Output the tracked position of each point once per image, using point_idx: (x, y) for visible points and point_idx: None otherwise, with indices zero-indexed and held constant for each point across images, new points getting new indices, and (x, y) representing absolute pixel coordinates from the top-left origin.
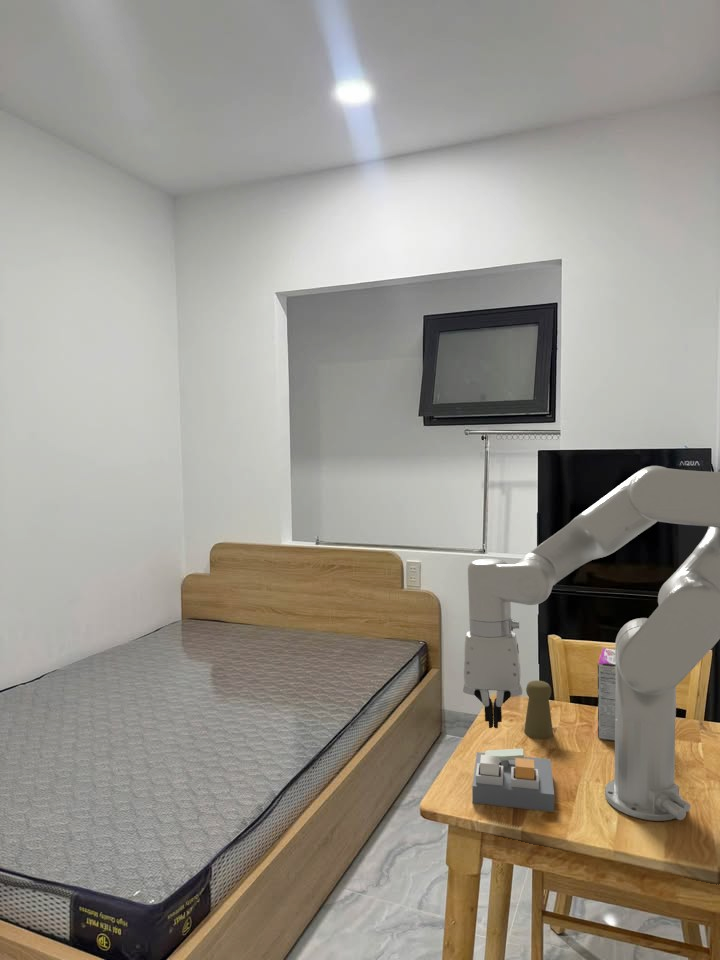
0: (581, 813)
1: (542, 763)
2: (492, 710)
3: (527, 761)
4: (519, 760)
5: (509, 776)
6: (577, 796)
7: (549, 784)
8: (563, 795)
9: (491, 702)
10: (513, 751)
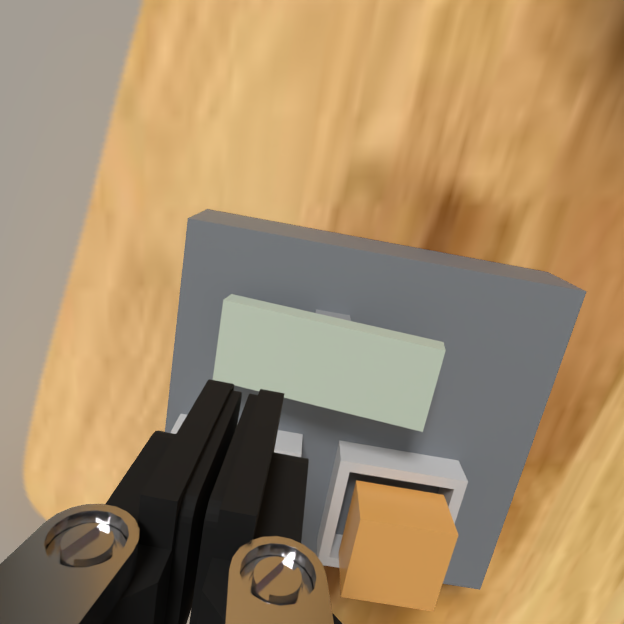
0: (554, 541)
1: (524, 339)
2: (193, 579)
3: (416, 554)
4: (376, 545)
5: (326, 462)
6: (590, 440)
7: (487, 523)
8: (537, 434)
9: (170, 557)
10: (379, 367)
